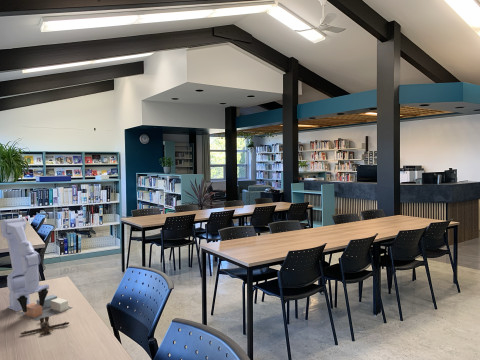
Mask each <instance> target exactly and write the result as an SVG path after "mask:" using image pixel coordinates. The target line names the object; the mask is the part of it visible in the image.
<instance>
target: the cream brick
mask: <svg viewBox="0 0 480 360" xmlns="http://www.w3.org/2000/svg"><path fill="white" fill-rule="evenodd" d="M68 306H69V300H66V299H63V298H60V297H57V299H54V300H51V309H54V310H56V311H59V312H60V313H63V312H65V311H64V310H66V311H68V310H67V309H68ZM62 311H63V312H62Z"/></svg>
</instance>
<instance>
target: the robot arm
mask: <svg viewBox="0 0 480 360" xmlns="http://www.w3.org/2000/svg"><path fill="white" fill-rule="evenodd" d="M26 228H27V221H26V218H24V216H23V217H15V218H7V219H1V221H0V231H1V235H2V236H1V237H2V238H4V239H5V238H6V241H7V245H8V252H9V258H10V262H11V269H12V271H11V272H10V273H9V274H8V275H7V277H6V280H7V281H6V282H7V283H6V287H7V288H8V290H9V292H8V293H9V294H8V302H9V305H8V306H7V308H8V309H10V310H12V311H14V312H19V311H22V312H27V305H28V304H31V299H30V295H33V294H35V293H37V294H38V299H39V304H40V306H44V301H45V298H46V297H47V296H48V293H49V290H50V285H49V284H47V283H46V284H44V285H40V273H39V270H40V269H39V265H40V264H41V256H40V253H39V252H37V251H36V250H35V248H34V246H33V243H32V242H31V241H29V240H28V238H27V235H26Z"/></svg>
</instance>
